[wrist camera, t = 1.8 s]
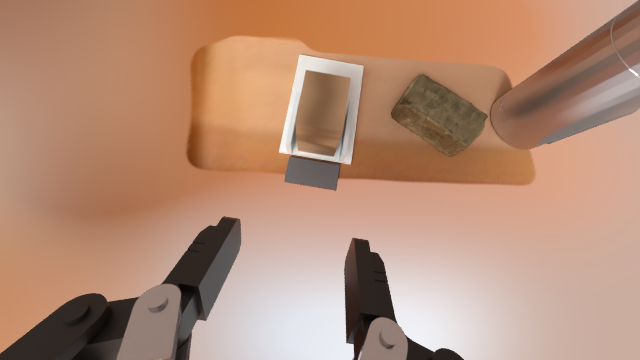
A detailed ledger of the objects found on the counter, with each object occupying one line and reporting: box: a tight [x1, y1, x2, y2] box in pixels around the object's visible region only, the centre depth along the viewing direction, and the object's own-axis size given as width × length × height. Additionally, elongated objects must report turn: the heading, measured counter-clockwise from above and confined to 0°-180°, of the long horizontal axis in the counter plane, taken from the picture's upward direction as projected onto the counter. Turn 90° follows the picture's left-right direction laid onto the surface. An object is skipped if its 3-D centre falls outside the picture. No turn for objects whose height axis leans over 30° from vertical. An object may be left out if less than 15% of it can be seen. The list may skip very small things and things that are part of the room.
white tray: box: [279, 54, 364, 190], centre depth 31 cm, size 10×20×4 cm, turn 171°
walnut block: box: [295, 70, 351, 157], centre depth 28 cm, size 5×6×8 cm
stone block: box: [391, 74, 488, 156], centre depth 32 cm, size 6×12×5 cm, turn 54°
